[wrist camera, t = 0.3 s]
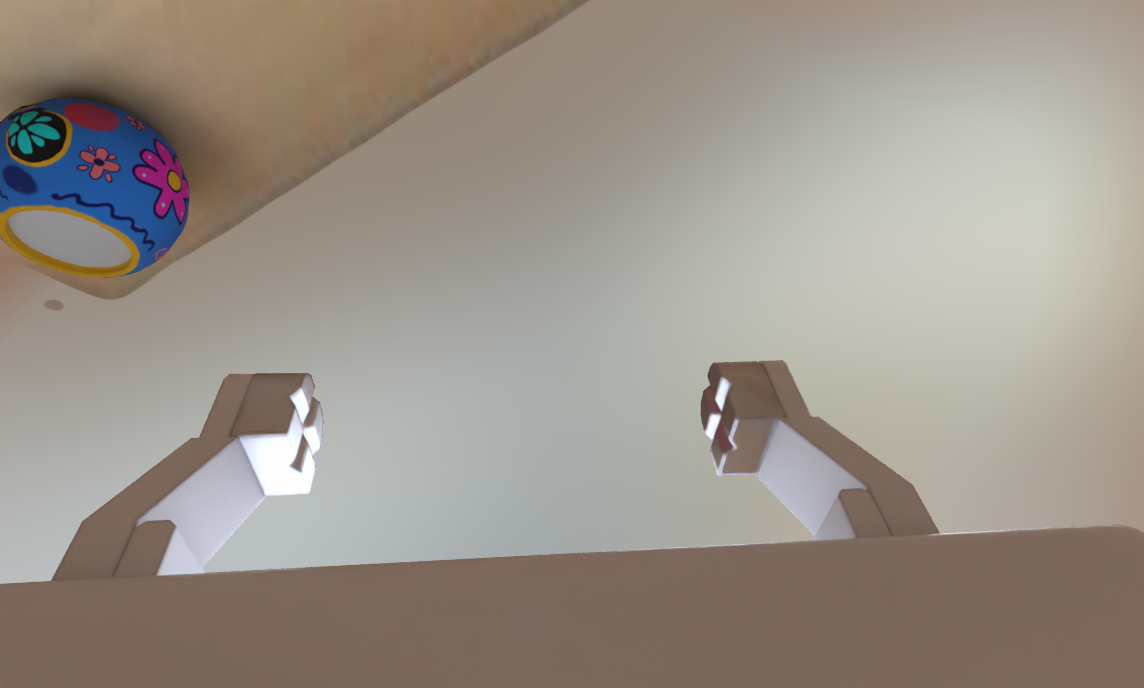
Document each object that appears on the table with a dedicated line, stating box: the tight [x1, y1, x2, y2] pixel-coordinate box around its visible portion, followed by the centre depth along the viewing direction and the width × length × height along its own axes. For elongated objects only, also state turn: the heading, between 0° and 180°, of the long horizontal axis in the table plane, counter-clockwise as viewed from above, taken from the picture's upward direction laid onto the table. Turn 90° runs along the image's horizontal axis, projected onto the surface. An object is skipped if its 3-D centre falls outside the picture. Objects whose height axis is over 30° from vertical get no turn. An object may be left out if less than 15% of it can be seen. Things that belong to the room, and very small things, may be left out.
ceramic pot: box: [0, 98, 189, 278], centre depth 68 cm, size 18×18×15 cm
